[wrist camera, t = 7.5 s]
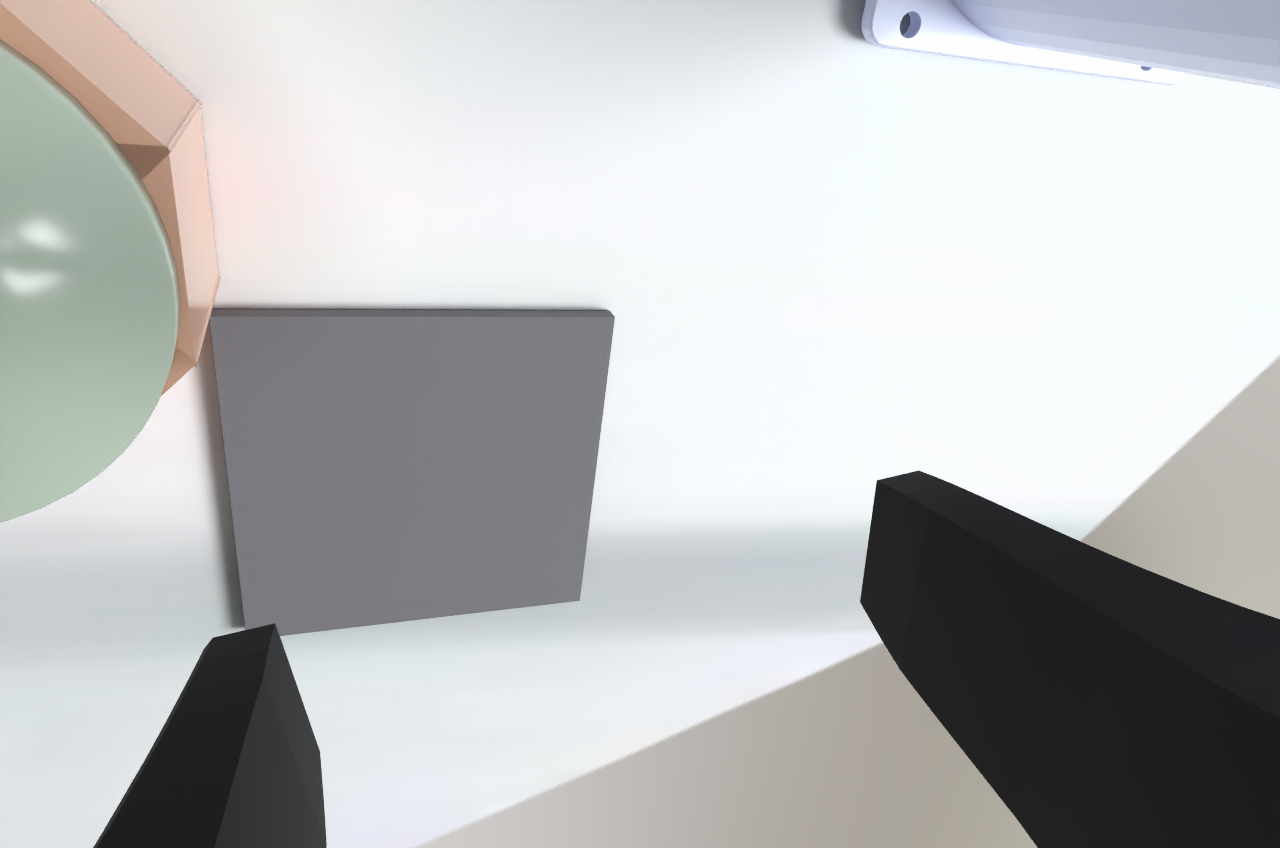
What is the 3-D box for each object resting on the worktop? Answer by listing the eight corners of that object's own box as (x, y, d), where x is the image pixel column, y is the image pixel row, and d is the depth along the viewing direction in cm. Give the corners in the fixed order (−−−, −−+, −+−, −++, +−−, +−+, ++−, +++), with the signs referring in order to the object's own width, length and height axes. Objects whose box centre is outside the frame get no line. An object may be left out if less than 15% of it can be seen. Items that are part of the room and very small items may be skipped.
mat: (609, 310, 20) (614, 317, 19) (575, 591, 24) (579, 600, 23) (210, 309, 17) (209, 316, 17) (247, 628, 21) (246, 640, 20)
